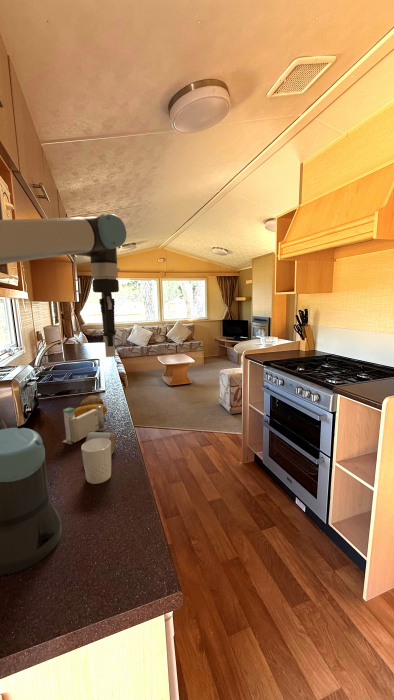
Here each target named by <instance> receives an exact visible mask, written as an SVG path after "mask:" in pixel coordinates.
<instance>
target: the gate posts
mask: <svg viewBox="0 0 394 700" xmlns="http://www.w3.org/2000/svg"><path fill="white" fill-rule="evenodd" d="M74 410H75V408H74V407H66V408H63V410H62V412H63V418H64V427H65V428H64V429H65V437H66V438H65V439H64V440H63V441H62V443H64V444H67V445H73V444H75V443H76V442H72V436H71V426H70V418H72V417H75V415H74ZM96 410H97V415H98V427H99V429H98V430H97V431H96V432H104V431H106V430H108V425H107V424H106V425H105V419H104V416H103V406H101V405H99V406H96Z"/></svg>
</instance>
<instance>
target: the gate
mask: <svg viewBox="0 0 394 700" xmlns="http://www.w3.org/2000/svg"><path fill="white" fill-rule="evenodd" d="M70 426H71V436H72V442H75V443H76V442H79V441H80V440H82V439H84V438H87V435H88V434H89V432H98V431H97V430H98V429H99V427H98V415H97V410H96V409H93V410H91V411H89V412H87V413H84V414H82V415H80V416H78V417H72V418H70Z"/></svg>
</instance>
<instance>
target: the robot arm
mask: <svg viewBox="0 0 394 700" xmlns="http://www.w3.org/2000/svg"><path fill="white" fill-rule="evenodd" d="M126 240H127V229H126V226H125V223H124V221H123V220H122V218H120V217H119V216H118V215H116V214H114V213H106V214H105V213H104V214H101V215H98V216H84V217H80V216H78V217H76V216H75V217H73V216H72V217H48V218H21V219H18V218H17V219H15V218H14V219H0V265H3V264H4V265H6V264H12V263H19V262H25V261H33V260H40V259H46V258H54V257H61V256H68V255H69V256H70V255H71V256H79V257H90V258H89V259H90V271H91V277H92V291H93V293H97V294H98V293H99V294H100V293H101V298H99V305H100V313H101V317H102V318H101V319H102V320H101V321H102V328H103V330H102V332H103V334H102V336H103V337H104V346H105V348H104V349H105V357H106V358H111V357H112V358H113V357H116V345H115V342H116V341H115V336H116V330H115V329H116V327H115V322H116V321H115V298H113V296H112V294H113V293H119V292H120V287H119V286H120V284H119V279H118V277H119V271H120V268H119V267H118V254H117V253H118V252H117V248H120V247H122V246H123V245H124V244H125V242H126ZM46 464H47V463H46V450H45V446H44V444H43V438H42V437H41V435H40V433H38V432H37V431H35V430H33V429H31V428H27V427H21V428H18V427H9V428H8V426H7V425H6V424H5V421H4V419H3V418H2V416H1V415H0V576H6V575H5V574H8V575H11V573H12V574H16V573H18V572H21V571H25V570H26V569H29V568H30V567H32V566H34V565H36V564H38V563H39V562H40V561H43V559H45V558H46V557H47V556H48V555H49V554H50V553H51V552H52V551H53V550H54V549H55V547H57V545H58V543H59V542H60V540H61V537H62V533H63V527H62V526H63V525H62V520H61V517H60V515H59V513H58V512H57V510H56V508H55V506H54V504H53V502H52V501H51V499H50V493H49V483H48V475H47V473H48V472H47V465H46ZM15 572H16V573H15ZM2 574H3V575H2Z"/></svg>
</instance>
